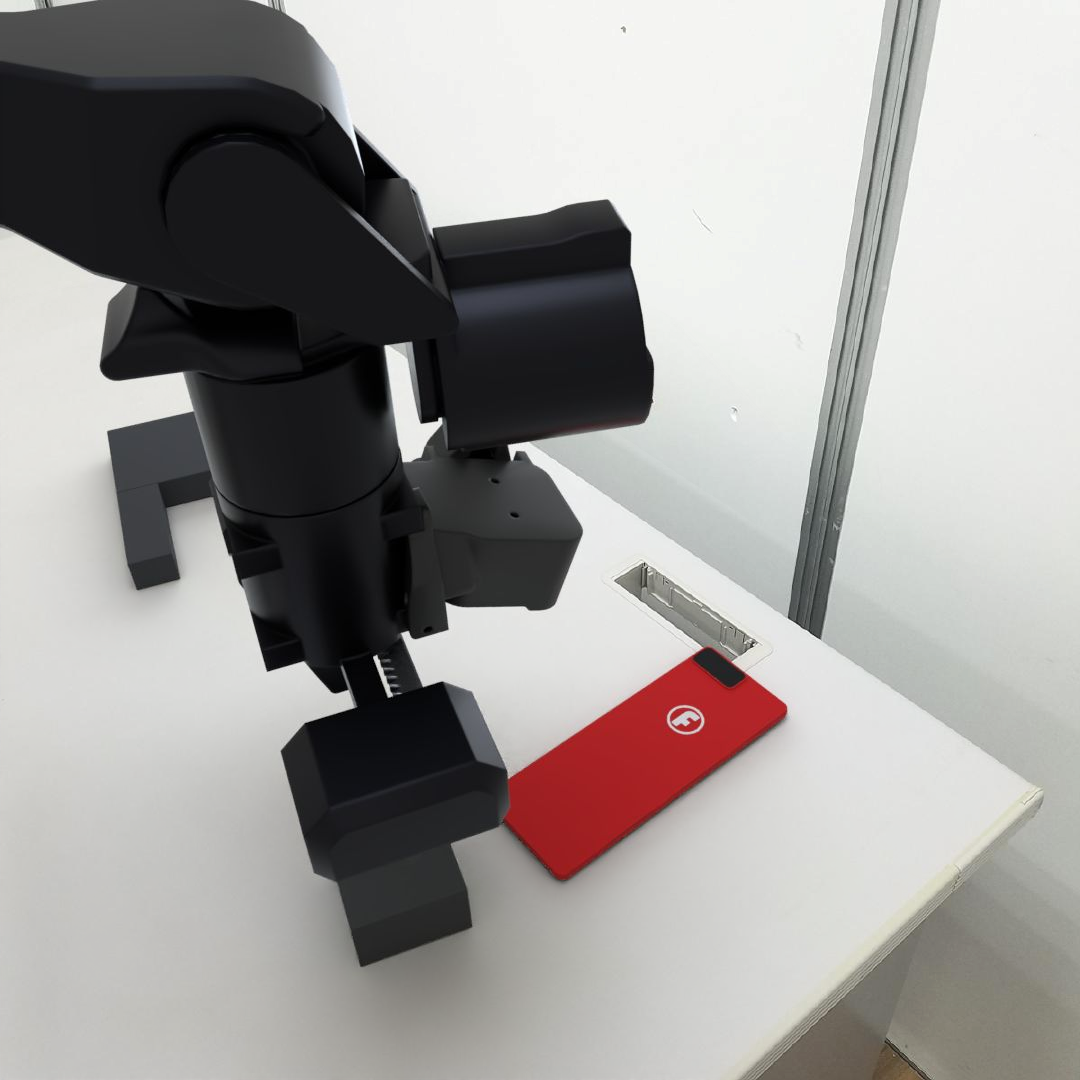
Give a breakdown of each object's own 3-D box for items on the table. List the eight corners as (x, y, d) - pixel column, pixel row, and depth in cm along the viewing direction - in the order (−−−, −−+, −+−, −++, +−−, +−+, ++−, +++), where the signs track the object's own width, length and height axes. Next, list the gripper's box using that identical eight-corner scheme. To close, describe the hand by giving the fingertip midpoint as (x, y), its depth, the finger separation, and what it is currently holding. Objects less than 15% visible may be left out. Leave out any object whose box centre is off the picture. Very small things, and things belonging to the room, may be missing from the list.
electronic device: (561, 885, 51) (790, 714, 57) (561, 878, 50) (791, 707, 57) (483, 801, 54) (707, 649, 61) (482, 794, 54) (708, 642, 61)
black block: (360, 967, 48) (350, 930, 46) (333, 870, 52) (323, 832, 50) (472, 927, 49) (467, 889, 47) (439, 835, 53) (433, 796, 51)
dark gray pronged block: (136, 590, 66) (127, 564, 65) (115, 454, 76) (106, 430, 75) (339, 537, 69) (334, 511, 68) (293, 413, 79) (287, 389, 78)
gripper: (677, 581, 31) (656, 896, 41) (461, 270, 44) (486, 568, 54) (263, 704, 28) (353, 1008, 38) (166, 333, 41) (252, 634, 51)
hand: (371, 769), depth 45 cm, fingers open, 9 cm apart
